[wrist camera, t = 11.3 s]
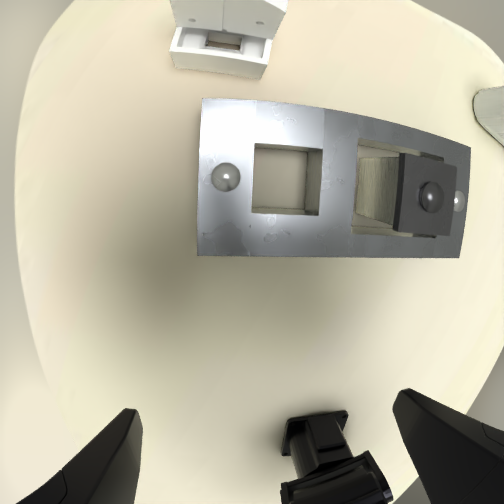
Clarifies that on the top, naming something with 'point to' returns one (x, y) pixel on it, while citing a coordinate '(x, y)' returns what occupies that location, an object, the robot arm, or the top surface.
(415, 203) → the drawer with knob
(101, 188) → the top surface
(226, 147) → the metal cover plate
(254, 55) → the white angled block
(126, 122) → the top surface
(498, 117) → the photo printer
